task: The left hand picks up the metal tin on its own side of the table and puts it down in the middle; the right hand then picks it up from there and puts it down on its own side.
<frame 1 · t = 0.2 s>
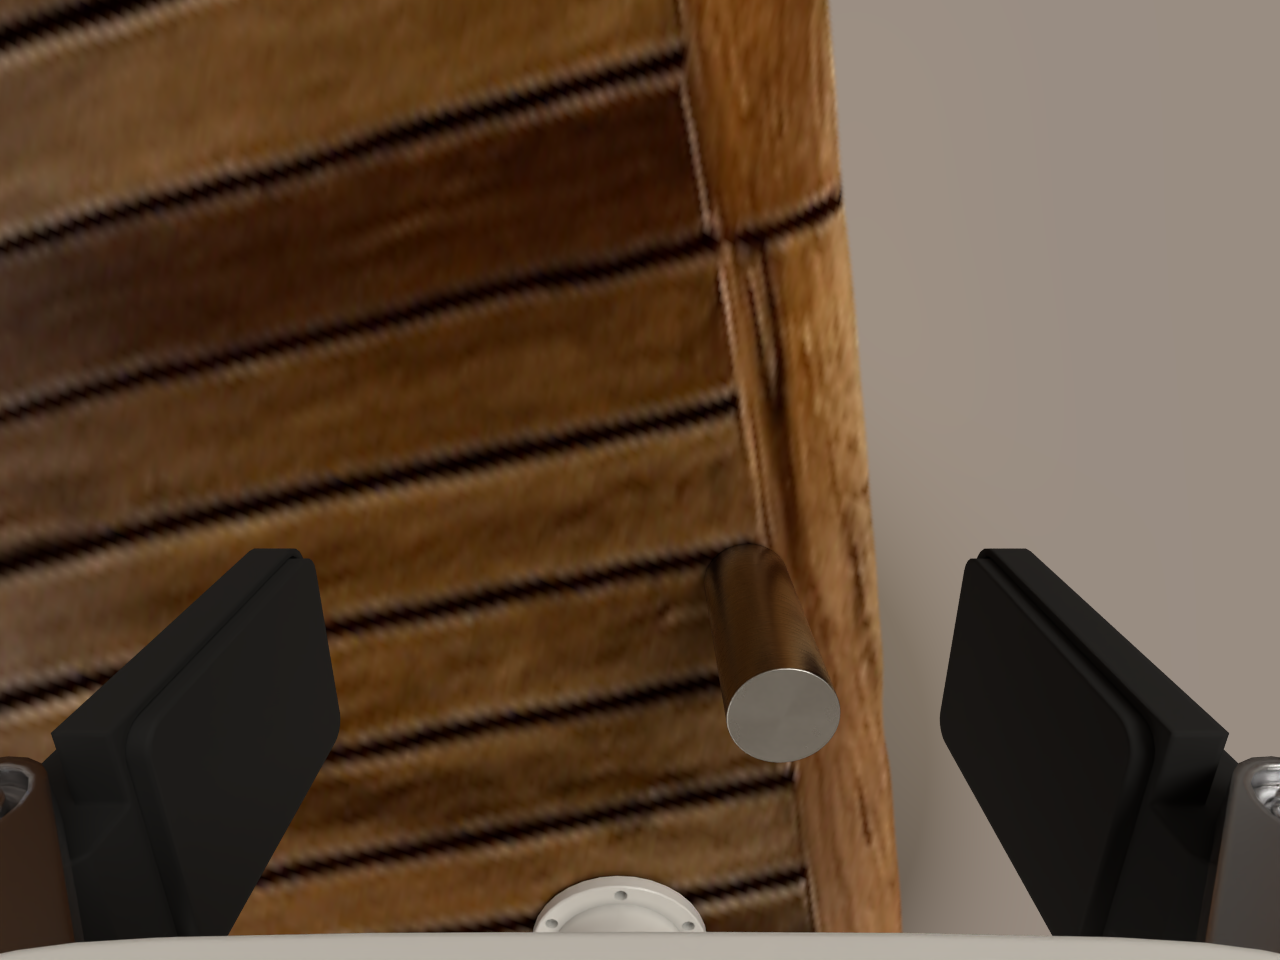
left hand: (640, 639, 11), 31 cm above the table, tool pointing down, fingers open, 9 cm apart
tin: (746, 581, 45), on the table
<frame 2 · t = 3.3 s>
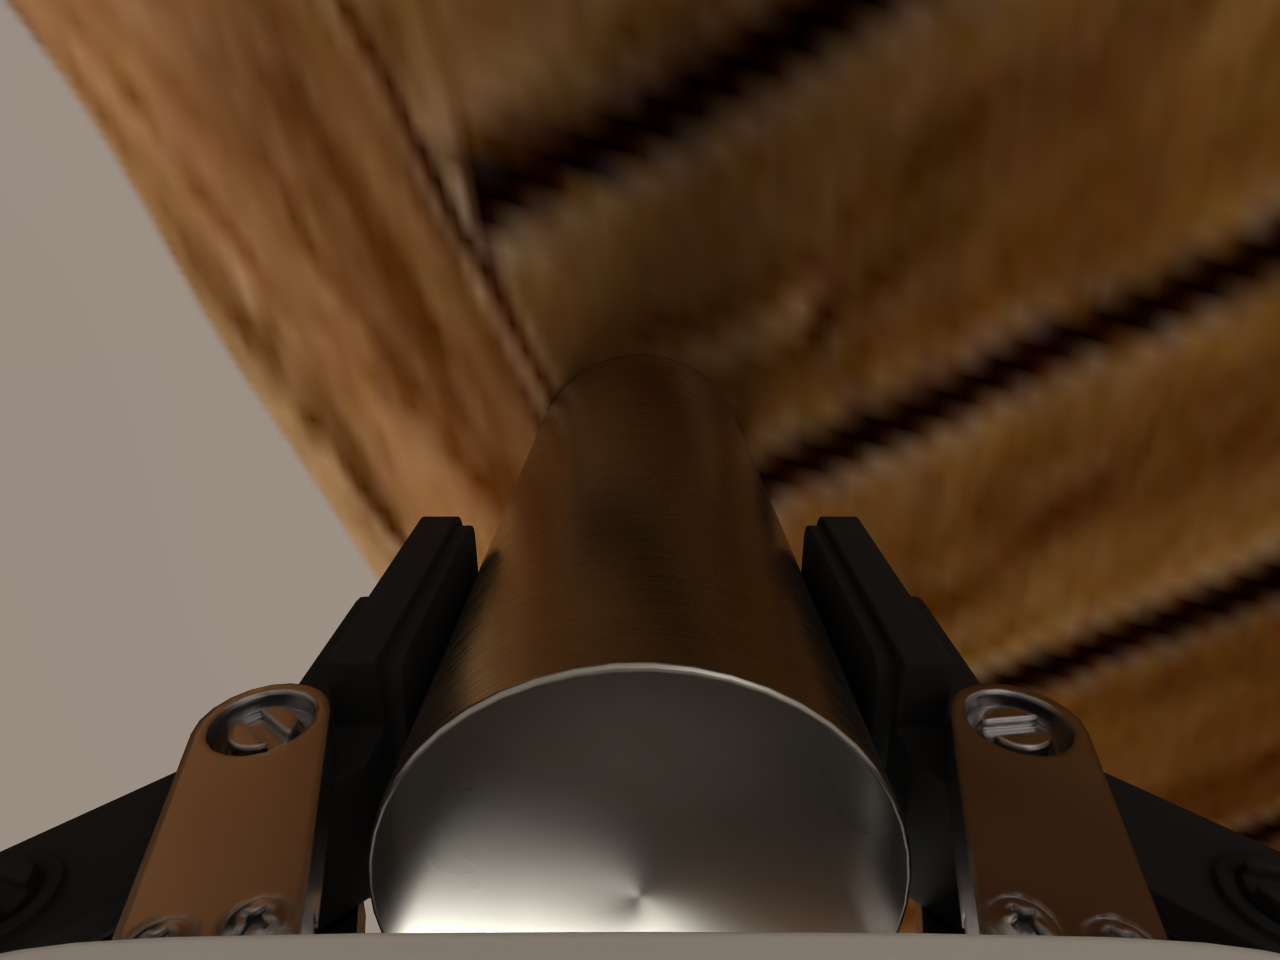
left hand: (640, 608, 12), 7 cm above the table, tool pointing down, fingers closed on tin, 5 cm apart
tin: (639, 455, 19), on the table, touching left hand
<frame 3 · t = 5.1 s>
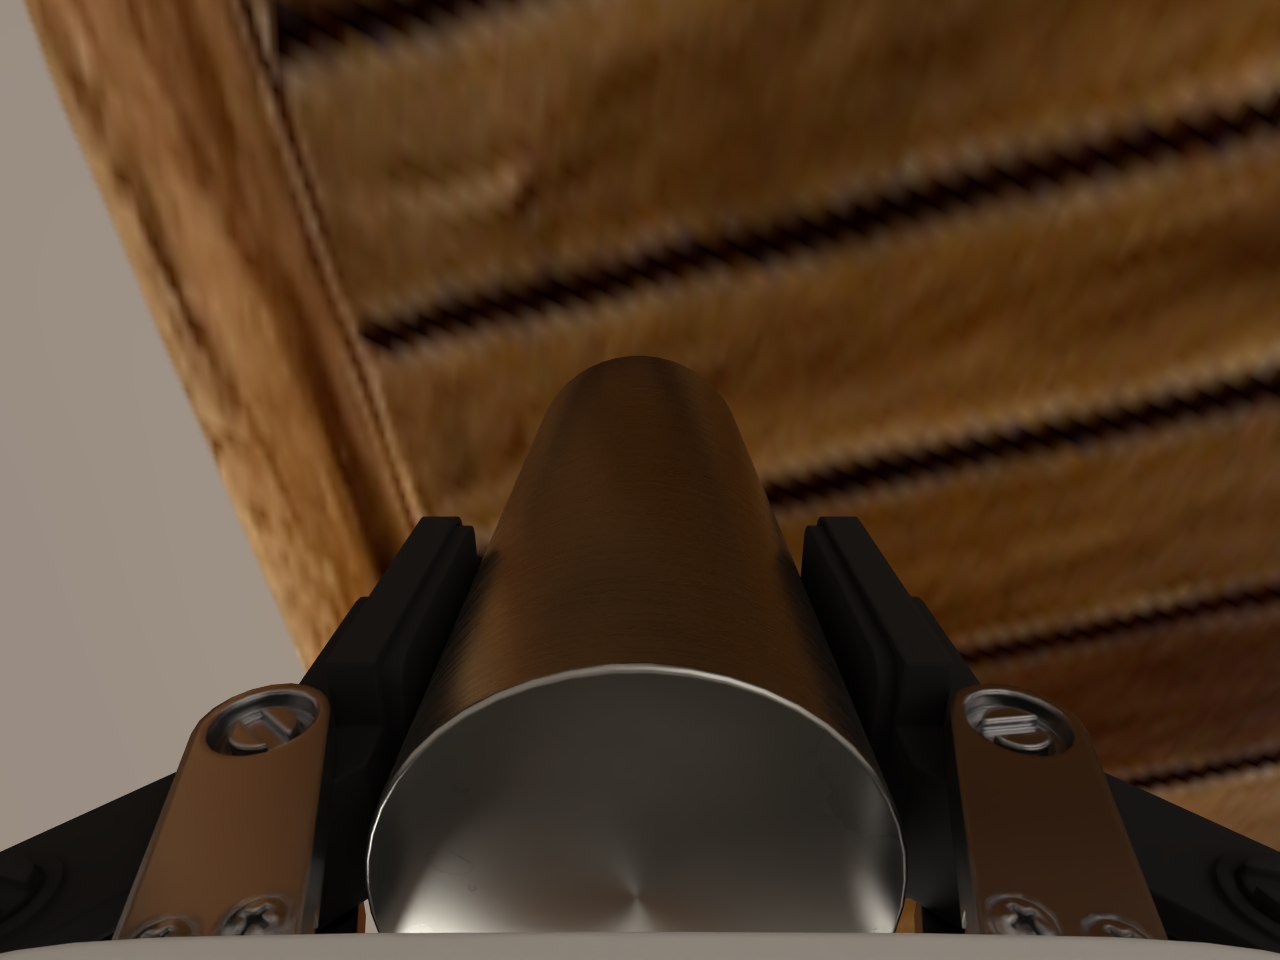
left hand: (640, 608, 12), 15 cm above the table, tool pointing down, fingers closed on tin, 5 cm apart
tin: (638, 456, 19), point 7 cm above the table, touching left hand
when the left hand's fingers open (8 cm above the table, at t = 7.4 s): tin stays where it is, on the table.
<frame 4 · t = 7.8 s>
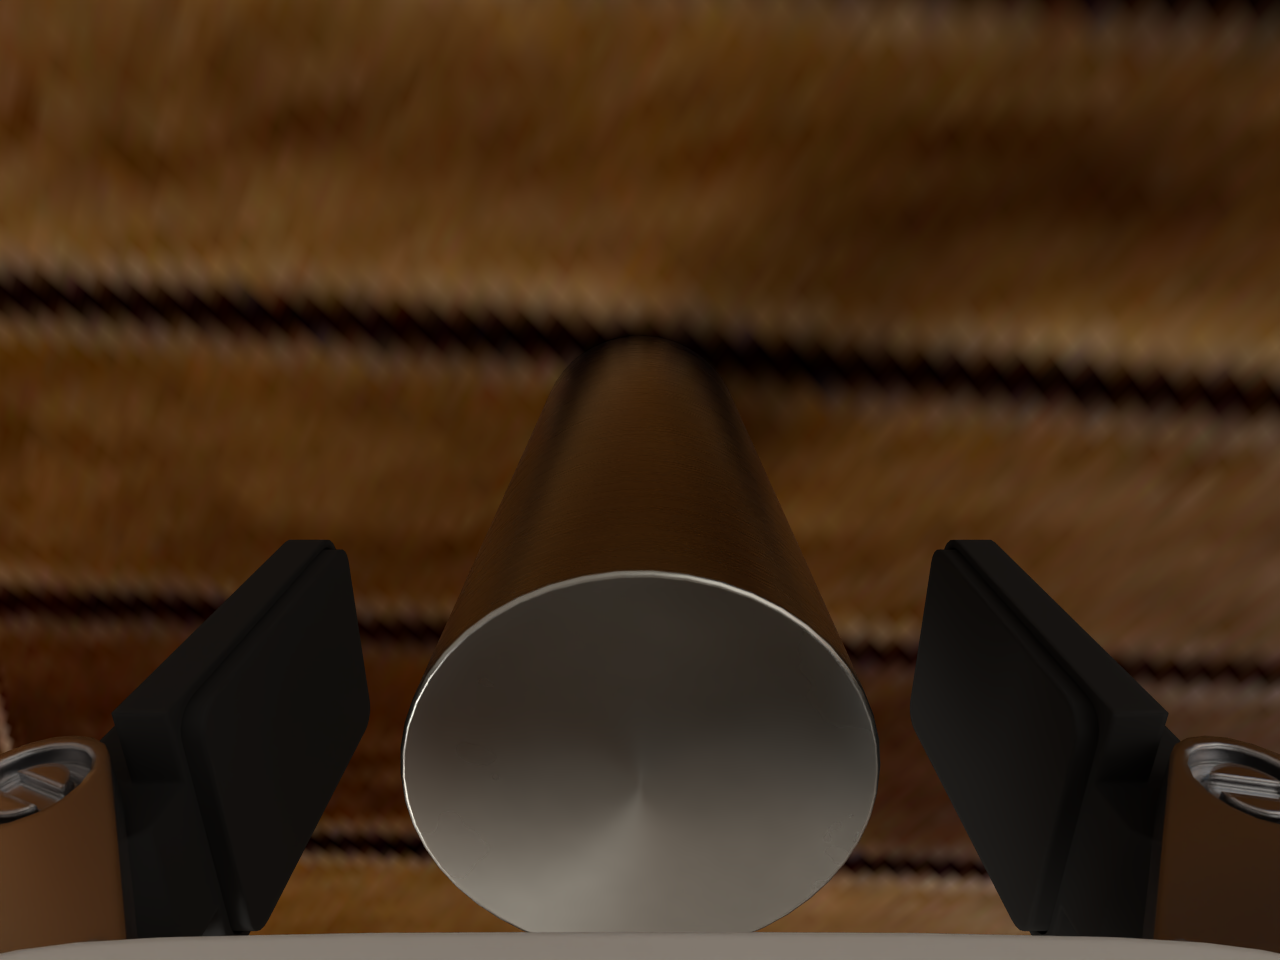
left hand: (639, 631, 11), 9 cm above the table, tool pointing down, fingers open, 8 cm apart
tin: (640, 432, 20), on the table
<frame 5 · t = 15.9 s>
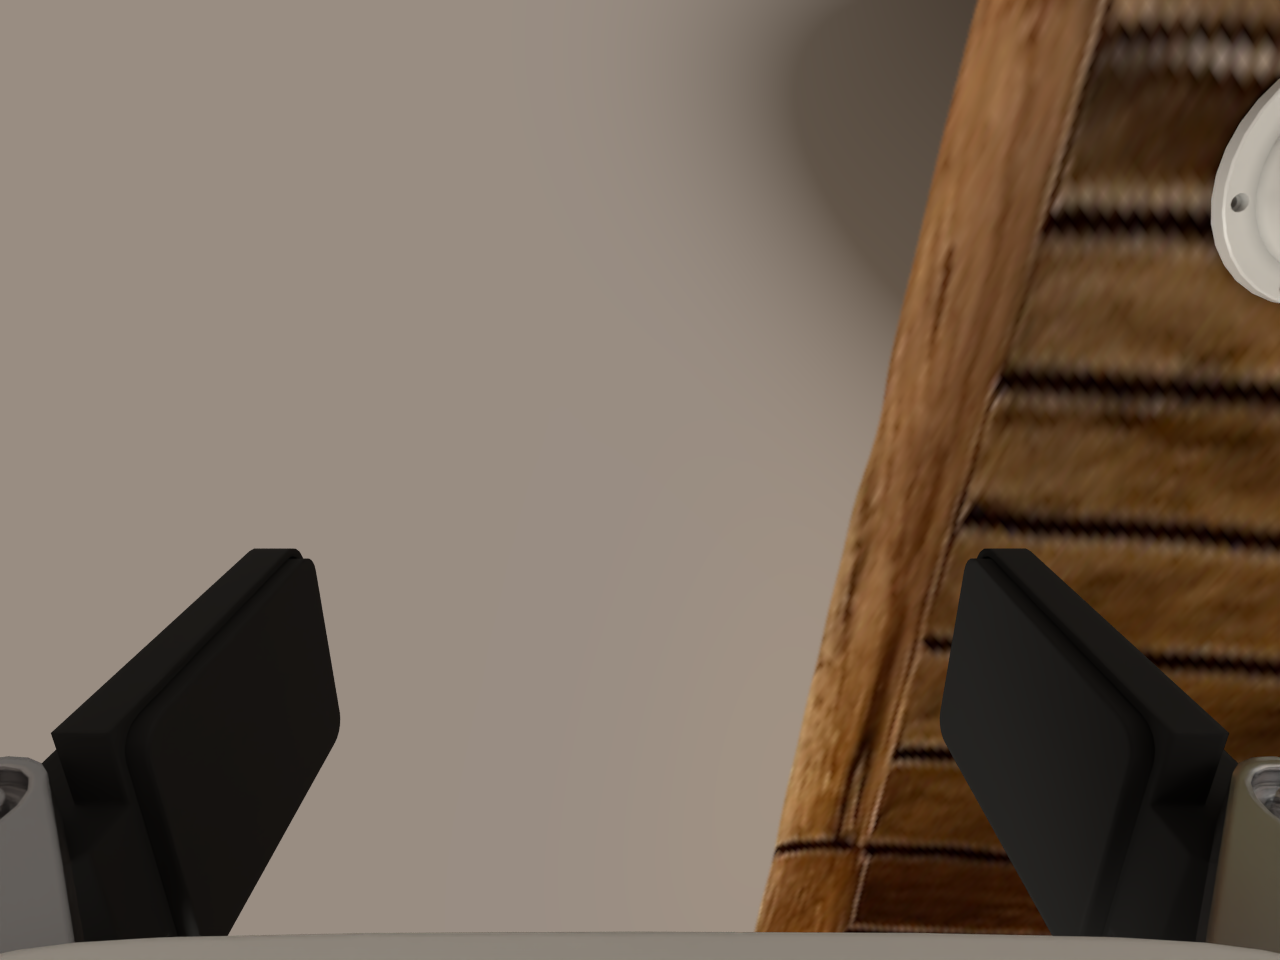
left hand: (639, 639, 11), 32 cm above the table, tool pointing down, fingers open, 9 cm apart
when the right hand's fingers open (8 cm above the table, at t = 26.7 s): tin stays where it is, on the table.
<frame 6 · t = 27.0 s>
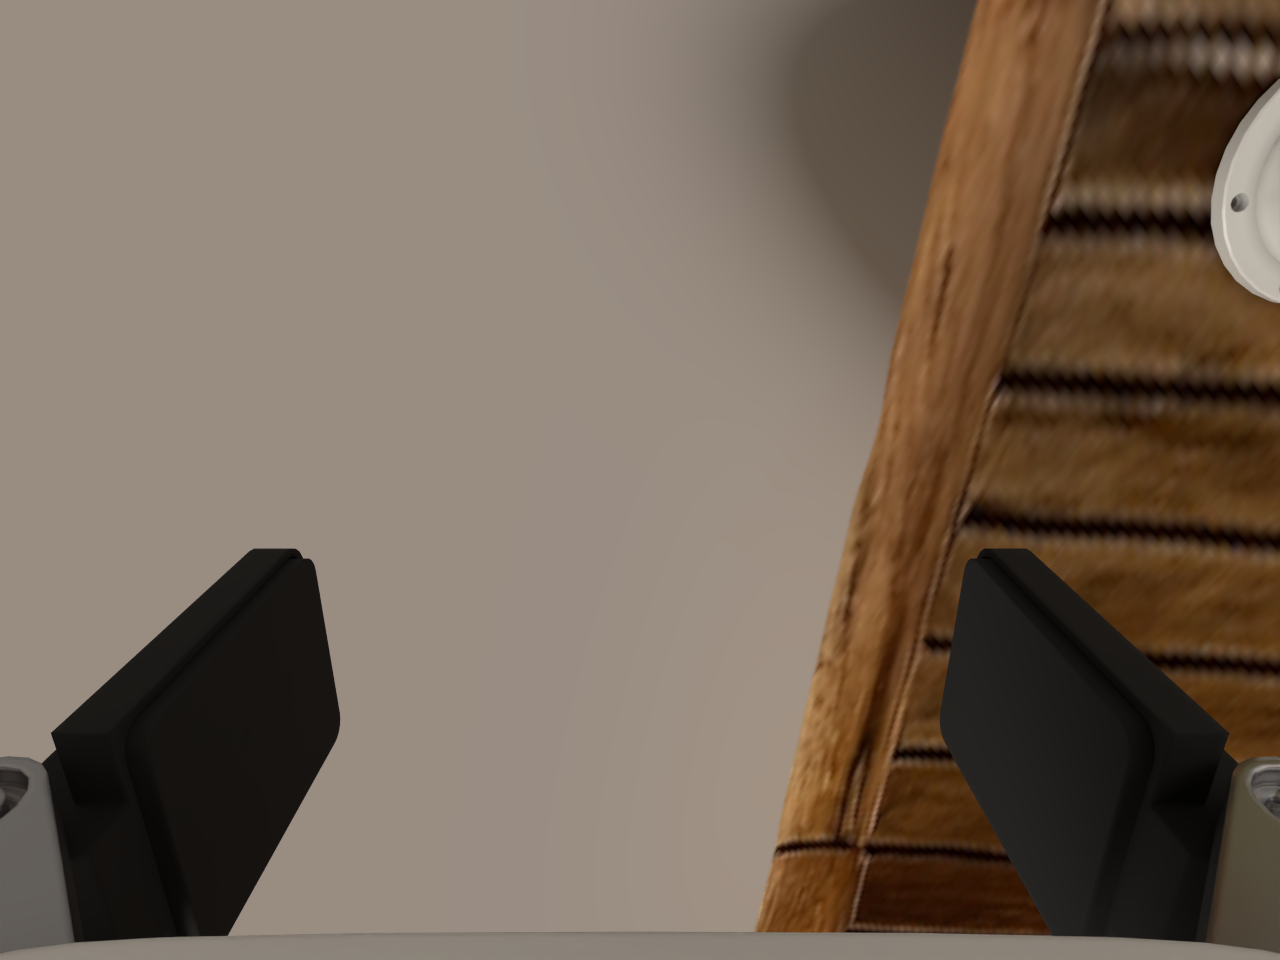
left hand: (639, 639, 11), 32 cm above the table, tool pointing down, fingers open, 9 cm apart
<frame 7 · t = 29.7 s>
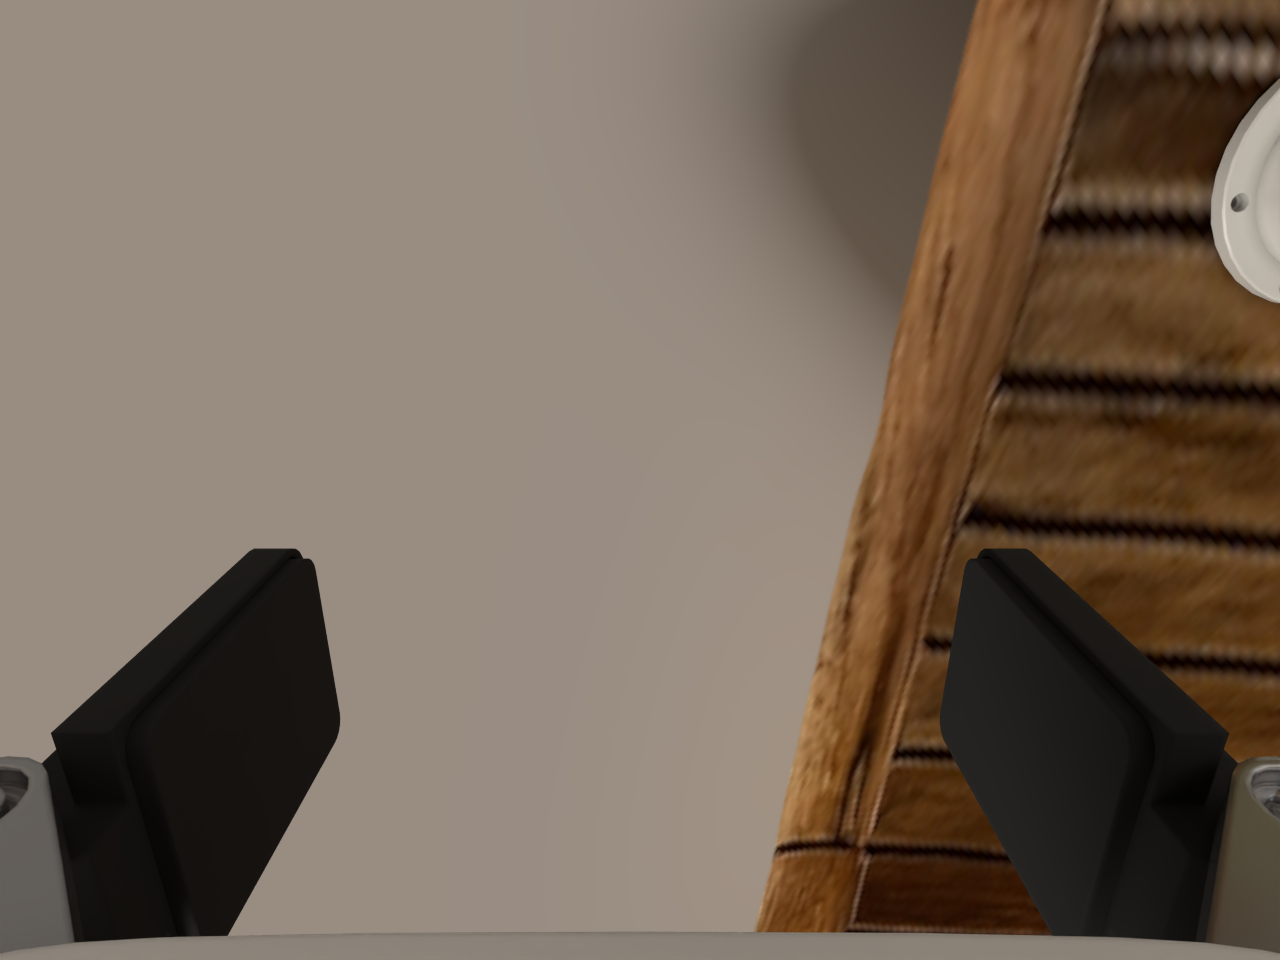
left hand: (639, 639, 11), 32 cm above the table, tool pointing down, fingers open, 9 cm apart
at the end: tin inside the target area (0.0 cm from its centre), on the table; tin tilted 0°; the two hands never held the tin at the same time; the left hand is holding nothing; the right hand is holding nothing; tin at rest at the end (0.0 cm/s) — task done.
